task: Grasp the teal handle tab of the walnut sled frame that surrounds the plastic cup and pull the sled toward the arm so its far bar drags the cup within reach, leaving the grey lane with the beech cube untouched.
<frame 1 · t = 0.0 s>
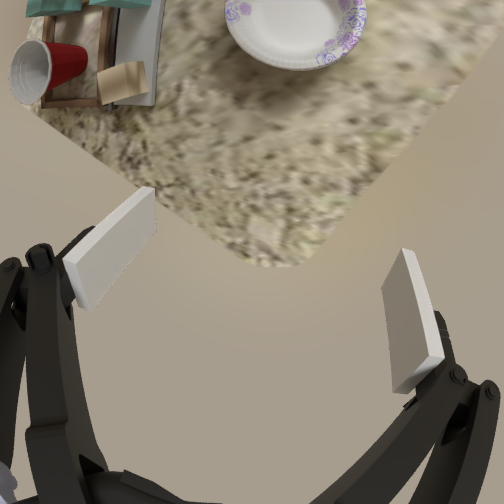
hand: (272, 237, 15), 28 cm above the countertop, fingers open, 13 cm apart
divider rail: (117, 45, 34), on the countertop
paper bowls: (299, 18, 28), on the countertop
beech cube: (132, 80, 36), point 1 cm above the countertop, touching strip B
plastic cup: (78, 61, 36), resting in sled A
sled A: (54, 50, 29), point 6 cm above the countertop, slide at 0.0 cm
strip B: (119, 43, 29), point 5 cm above the countertop, slide at 0.0 cm, touching beech cube
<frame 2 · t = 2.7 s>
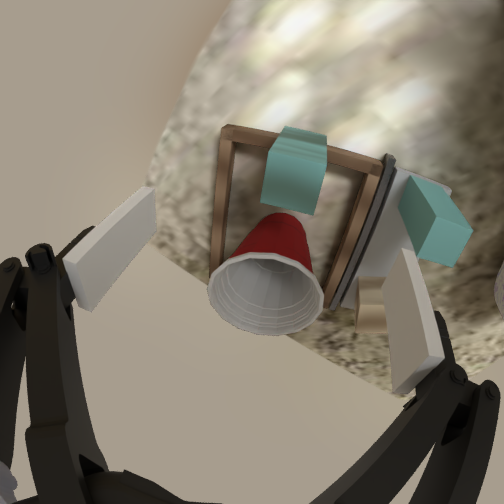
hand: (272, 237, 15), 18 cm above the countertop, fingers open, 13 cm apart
divider rail: (359, 239, 34), on the countertop
beech cube: (374, 291, 36), point 1 cm above the countertop, touching strip B
plastic cup: (283, 233, 36), resting in sled A
sled A: (280, 242, 30), point 6 cm above the countertop, slide at 0.0 cm
strip B: (398, 276, 29), point 5 cm above the countertop, slide at 0.0 cm, touching beech cube
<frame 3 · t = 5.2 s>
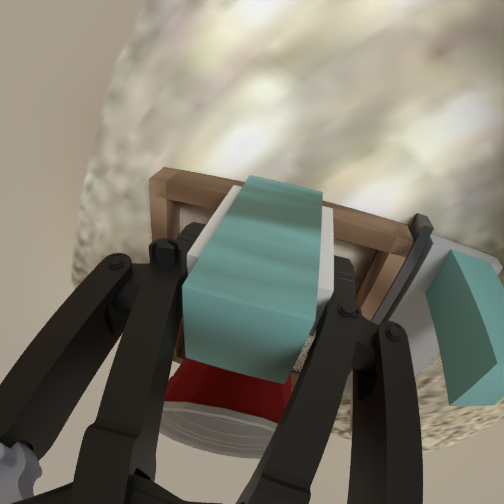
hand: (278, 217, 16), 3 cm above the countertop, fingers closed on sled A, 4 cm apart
divider rail: (364, 325, 23), on the countertop
plastic cup: (257, 314, 26), resting in sled A
sled A: (245, 353, 19), point 6 cm above the countertop, slide at 0.0 cm, touching gripper
strip B: (413, 385, 19), point 5 cm above the countertop, slide at 0.0 cm, touching beech cube
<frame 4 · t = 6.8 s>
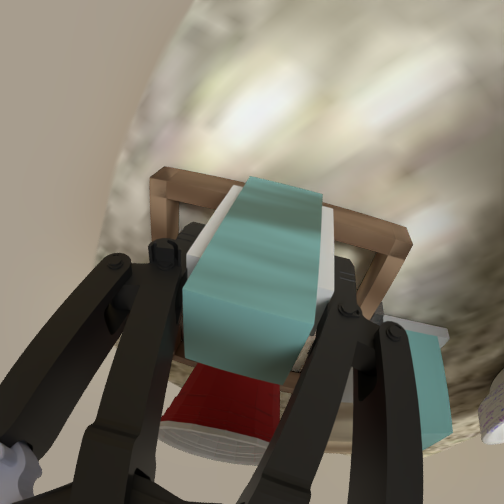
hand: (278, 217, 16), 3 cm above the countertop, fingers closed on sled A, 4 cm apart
divider rail: (331, 371, 28), on the countertop
beech cube: (345, 411, 30), point 1 cm above the countertop, touching strip B
plastic cup: (251, 338, 28), resting in sled A
sled A: (243, 353, 19), point 6 cm above the countertop, slide at 7.8 cm, touching gripper
strip B: (367, 422, 24), point 5 cm above the countertop, slide at 0.0 cm, touching beech cube
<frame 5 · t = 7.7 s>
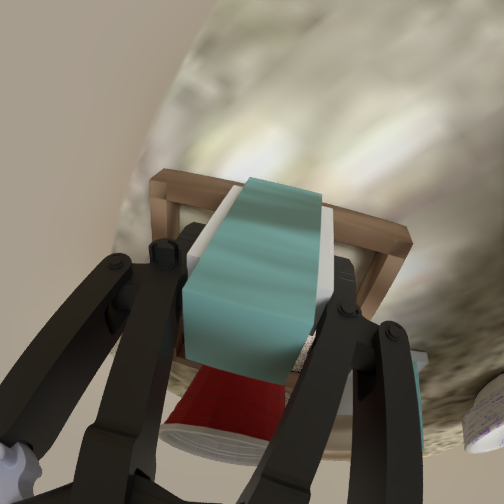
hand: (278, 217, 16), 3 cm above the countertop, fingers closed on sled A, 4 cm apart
beech cube: (336, 421, 33), point 1 cm above the countertop, touching strip B
plastic cup: (255, 339, 28), resting in sled A
sled A: (245, 354, 19), point 6 cm above the countertop, slide at 11.7 cm, touching gripper, plastic cup
strip B: (353, 434, 26), point 5 cm above the countertop, slide at 0.0 cm, touching beech cube
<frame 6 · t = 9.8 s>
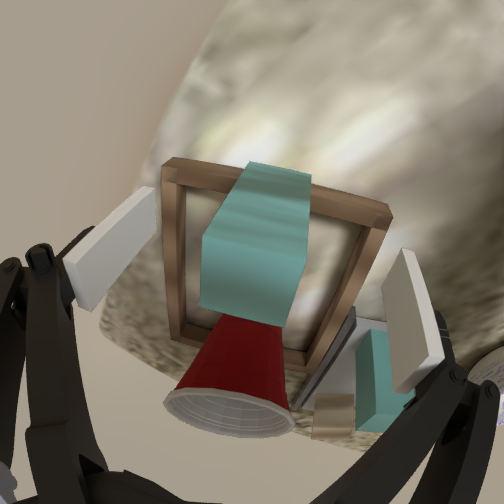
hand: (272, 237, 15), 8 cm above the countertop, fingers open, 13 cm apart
divider rail: (317, 366, 33), on the countertop
paper bowls: (495, 362, 29), on the countertop
beech cube: (333, 401, 35), point 1 cm above the countertop, touching strip B
plastic cup: (255, 317, 30), resting in sled A
sled A: (246, 321, 22), point 6 cm above the countertop, slide at 11.8 cm
strip B: (350, 409, 29), point 5 cm above the countertop, slide at 0.0 cm, touching beech cube
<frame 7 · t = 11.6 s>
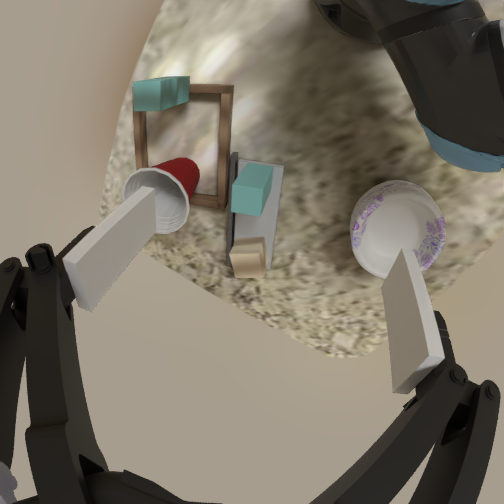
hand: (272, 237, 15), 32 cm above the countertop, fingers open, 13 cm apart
divider rail: (232, 212, 52), on the countertop
paper bowls: (391, 215, 46), on the countertop
beech cube: (252, 249, 54), point 1 cm above the countertop, touching strip B
plastic cup: (186, 172, 49), resting in sled A
sled A: (167, 148, 41), point 6 cm above the countertop, slide at 11.8 cm
strip B: (250, 232, 47), point 5 cm above the countertop, slide at 0.0 cm, touching beech cube
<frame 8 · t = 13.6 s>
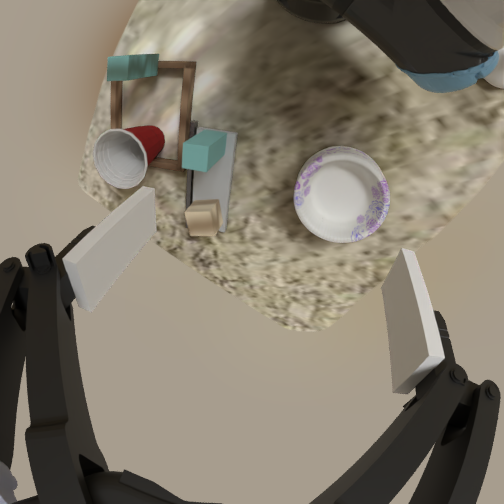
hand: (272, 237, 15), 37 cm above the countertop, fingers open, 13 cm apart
divider rail: (192, 175, 55), on the countertop
paper bowls: (340, 182, 49), on the countertop
beech cube: (209, 211, 57), point 1 cm above the countertop, touching strip B
plastic cup: (153, 139, 52), resting in sled A
sled A: (135, 115, 43), point 6 cm above the countertop, slide at 11.8 cm
strip B: (203, 191, 50), point 5 cm above the countertop, slide at 0.0 cm, touching beech cube
flower in vase: (495, 58, 27), on the countertop
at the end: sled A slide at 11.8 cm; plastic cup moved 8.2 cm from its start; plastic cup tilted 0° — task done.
